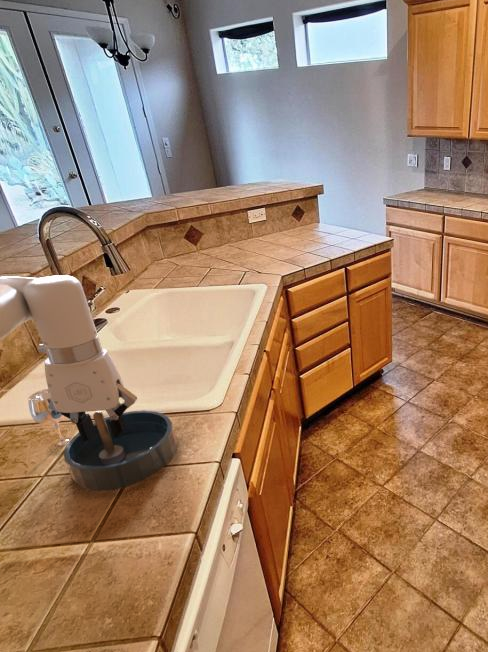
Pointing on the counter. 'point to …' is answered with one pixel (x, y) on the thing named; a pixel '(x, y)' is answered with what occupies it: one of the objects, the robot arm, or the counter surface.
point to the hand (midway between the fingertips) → (104, 434)
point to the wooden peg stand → (107, 442)
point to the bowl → (139, 446)
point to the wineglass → (45, 412)
